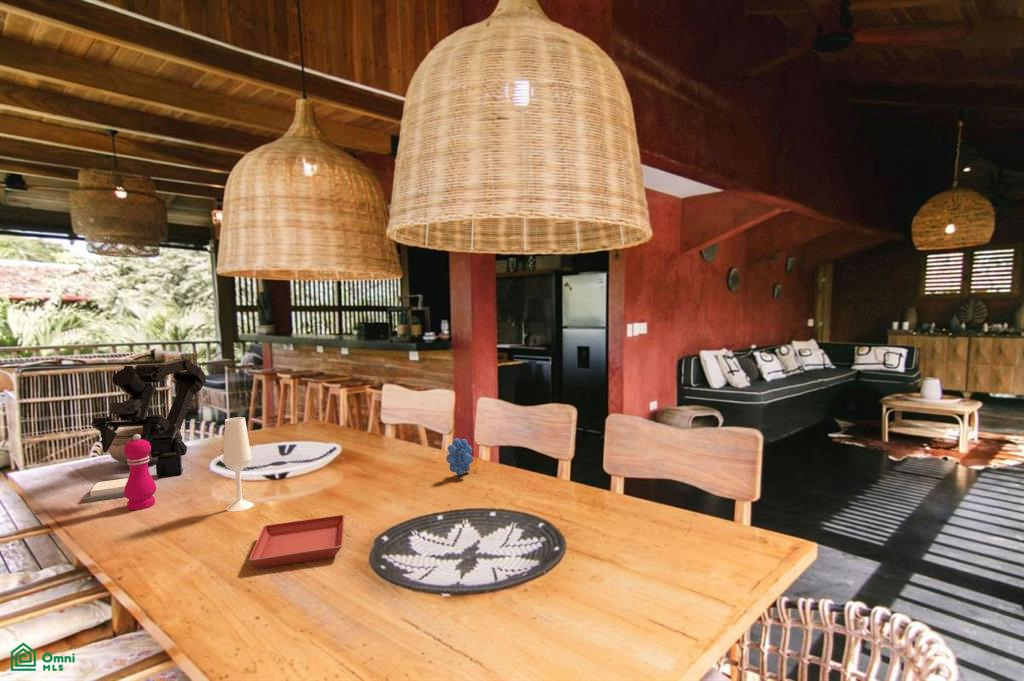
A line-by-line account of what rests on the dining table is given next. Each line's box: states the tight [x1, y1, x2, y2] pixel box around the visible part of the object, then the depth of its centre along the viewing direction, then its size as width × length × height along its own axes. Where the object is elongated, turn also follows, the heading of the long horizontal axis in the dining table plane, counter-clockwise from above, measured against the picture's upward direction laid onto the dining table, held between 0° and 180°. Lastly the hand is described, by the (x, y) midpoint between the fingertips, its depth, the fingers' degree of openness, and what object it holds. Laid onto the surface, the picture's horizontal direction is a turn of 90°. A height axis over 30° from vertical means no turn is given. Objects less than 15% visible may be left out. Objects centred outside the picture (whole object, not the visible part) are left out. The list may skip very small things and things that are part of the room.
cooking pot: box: [108, 426, 158, 466], centre depth 186 cm, size 25×19×12 cm
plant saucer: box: [248, 514, 345, 568], centre depth 117 cm, size 18×18×3 cm
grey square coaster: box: [82, 477, 129, 504], centre depth 155 cm, size 12×11×3 cm
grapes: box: [445, 437, 474, 476], centre depth 164 cm, size 12×7×12 cm, turn 145°
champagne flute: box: [222, 416, 254, 513], centre depth 142 cm, size 7×7×24 cm
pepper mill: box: [124, 434, 157, 511], centre depth 144 cm, size 7×7×20 cm
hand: (121, 451), depth 149 cm, fingers open, 9 cm apart
